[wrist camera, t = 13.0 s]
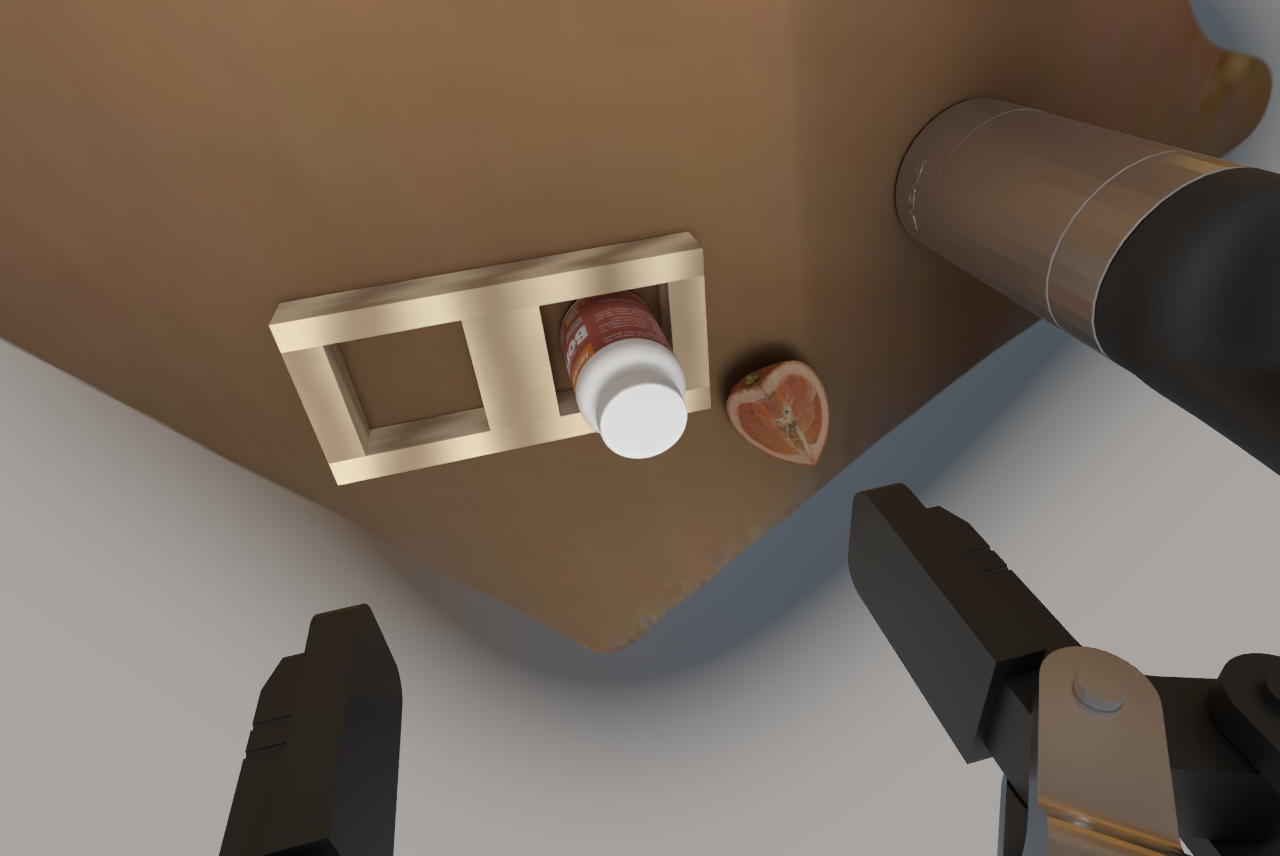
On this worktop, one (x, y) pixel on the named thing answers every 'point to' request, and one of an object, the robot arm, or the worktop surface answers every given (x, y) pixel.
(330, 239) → the worktop surface
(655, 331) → the pill bottle
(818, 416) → the fruit slice
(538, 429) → the rail
